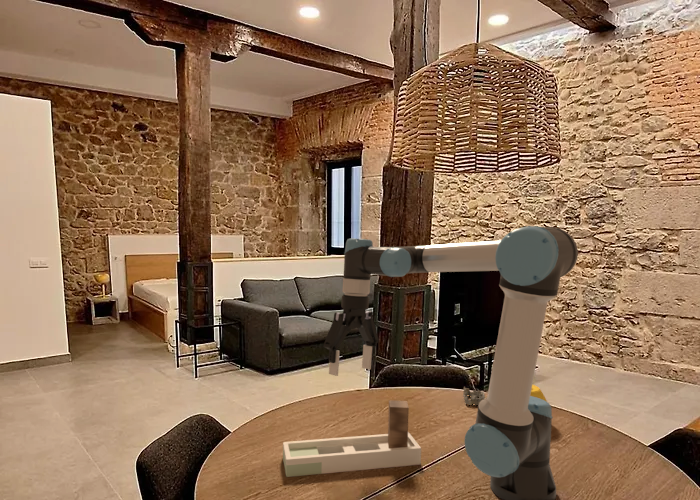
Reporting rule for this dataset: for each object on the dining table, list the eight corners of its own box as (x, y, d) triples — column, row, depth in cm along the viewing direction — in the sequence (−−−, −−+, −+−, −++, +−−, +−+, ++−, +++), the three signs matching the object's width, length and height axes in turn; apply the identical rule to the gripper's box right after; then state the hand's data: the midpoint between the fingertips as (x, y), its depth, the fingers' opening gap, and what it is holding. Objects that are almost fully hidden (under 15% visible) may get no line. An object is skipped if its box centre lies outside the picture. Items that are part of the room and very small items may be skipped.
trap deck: (408, 447, 140) (408, 432, 140) (420, 464, 131) (421, 448, 130) (282, 458, 133) (283, 442, 132) (286, 476, 123) (286, 459, 123)
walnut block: (405, 442, 137) (406, 400, 136) (407, 451, 132) (408, 407, 131) (387, 442, 137) (388, 400, 136) (388, 450, 132) (390, 407, 131)
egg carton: (462, 396, 185) (463, 385, 184) (483, 398, 183) (483, 387, 183) (463, 406, 174) (463, 395, 174) (485, 408, 173) (485, 397, 172)
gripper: (373, 292, 146) (368, 363, 146) (313, 293, 128) (308, 374, 127) (393, 295, 141) (388, 368, 141) (334, 296, 123) (328, 380, 122)
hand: (350, 371), depth 134 cm, fingers open, 13 cm apart
